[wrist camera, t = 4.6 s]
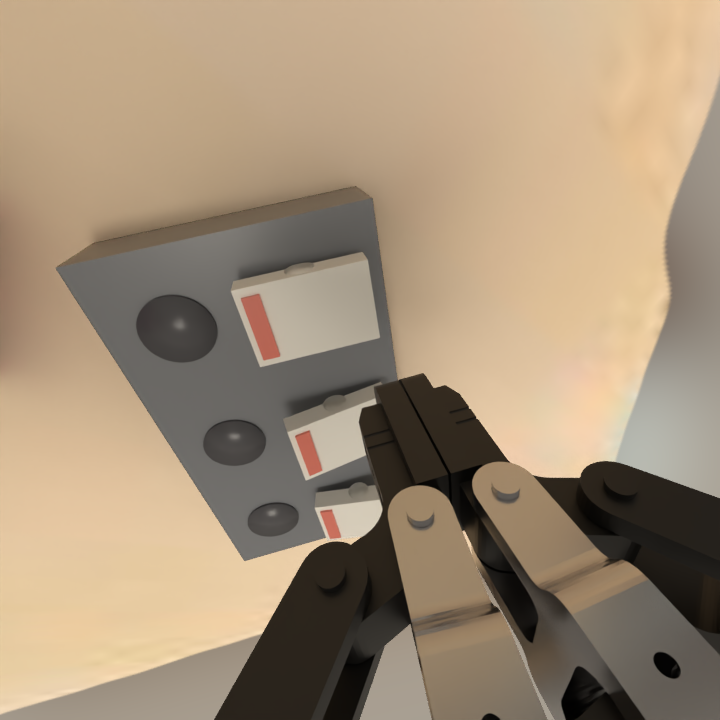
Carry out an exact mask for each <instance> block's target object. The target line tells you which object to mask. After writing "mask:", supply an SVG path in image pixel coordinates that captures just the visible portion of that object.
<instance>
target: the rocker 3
mask: <svg viewBox="0 0 720 720" xmlns="http://www.w3.org/2000/svg"><path fill="white" fill-rule="evenodd" d="M315 510H316V513H317V515H318V518H319V520H320V523H321V526H322V528H323V531H324V533H325V536H326V538H327V541H329V540H337V539H345V538H354V537H362V536H364V535H366V534H367V533H368V532H369V531H370V530H371V529H372V528H373V527H374V526H375V525H376V523H377V522H378V520H379V518H380V516H381V513H382V506H381V503H380V499H379V496H378V493H377V490H376V486H375V485H371V486H367V485H366V484H365V483H362V482H358V483H354V484H353V485H352V486H351V487H350V488H348V489H340V490H333V491H325V492H317V493H316V498H315Z"/></svg>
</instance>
